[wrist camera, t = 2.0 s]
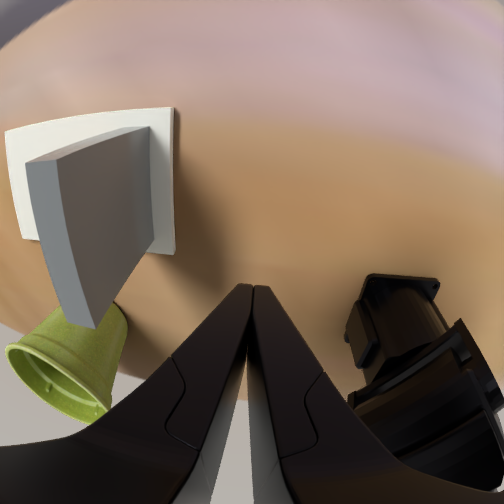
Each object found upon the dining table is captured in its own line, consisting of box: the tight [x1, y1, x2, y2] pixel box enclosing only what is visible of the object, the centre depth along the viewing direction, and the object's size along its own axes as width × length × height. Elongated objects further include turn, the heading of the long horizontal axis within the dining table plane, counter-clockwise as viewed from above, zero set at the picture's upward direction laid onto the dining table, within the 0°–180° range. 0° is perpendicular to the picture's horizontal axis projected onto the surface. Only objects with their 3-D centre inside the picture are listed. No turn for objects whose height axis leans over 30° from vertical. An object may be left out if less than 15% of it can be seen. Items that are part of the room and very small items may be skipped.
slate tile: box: [25, 126, 154, 329], centre depth 12 cm, size 2×7×8 cm, turn 176°
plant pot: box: [5, 302, 128, 425], centre depth 18 cm, size 9×9×9 cm
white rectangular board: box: [5, 107, 176, 255], centre depth 16 cm, size 14×9×1 cm, turn 85°
